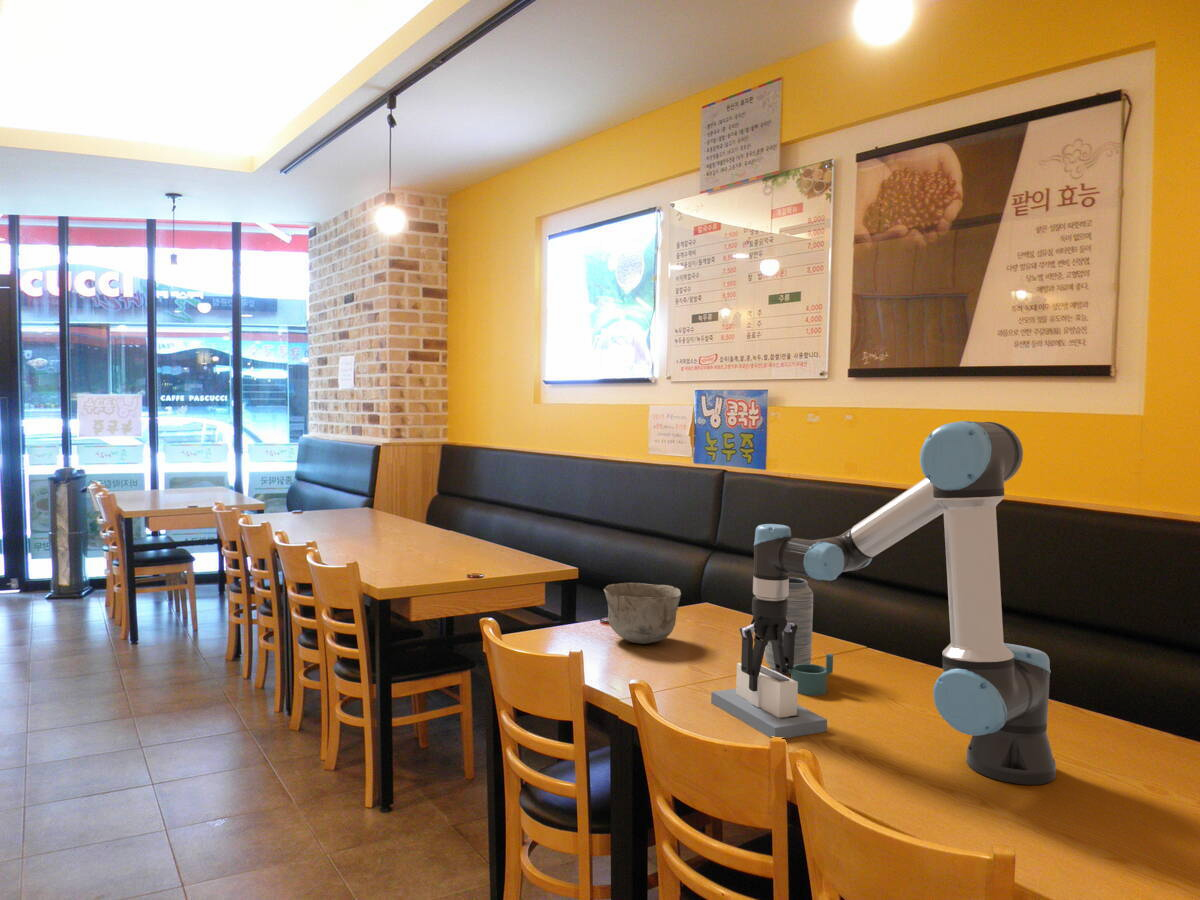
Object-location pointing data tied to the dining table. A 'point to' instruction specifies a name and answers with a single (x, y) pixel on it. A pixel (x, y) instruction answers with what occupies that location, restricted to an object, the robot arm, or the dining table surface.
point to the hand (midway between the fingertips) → (766, 703)
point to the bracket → (812, 677)
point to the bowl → (642, 610)
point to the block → (771, 691)
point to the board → (769, 716)
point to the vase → (797, 622)
